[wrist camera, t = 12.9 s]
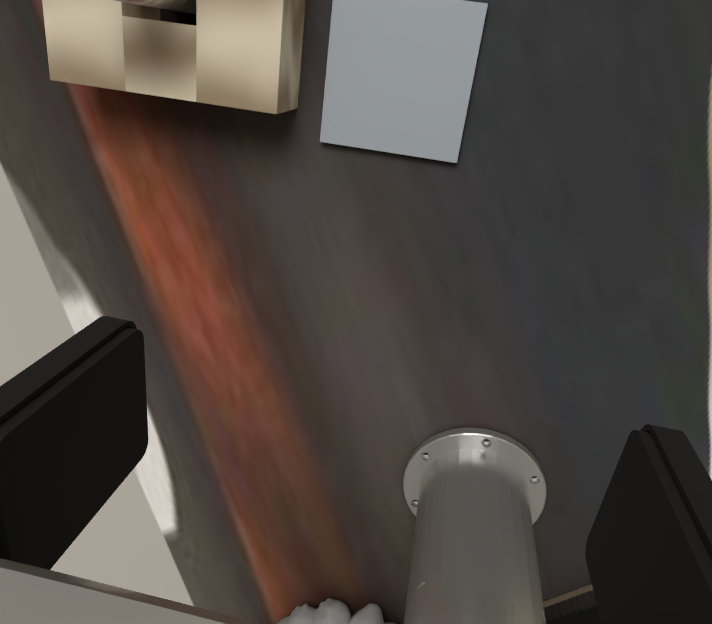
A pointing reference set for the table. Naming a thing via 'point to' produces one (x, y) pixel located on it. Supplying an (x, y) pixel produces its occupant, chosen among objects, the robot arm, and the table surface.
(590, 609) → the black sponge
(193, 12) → the peg
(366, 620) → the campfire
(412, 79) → the mat
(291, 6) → the hole block
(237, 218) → the table surface
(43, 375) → the robot arm
